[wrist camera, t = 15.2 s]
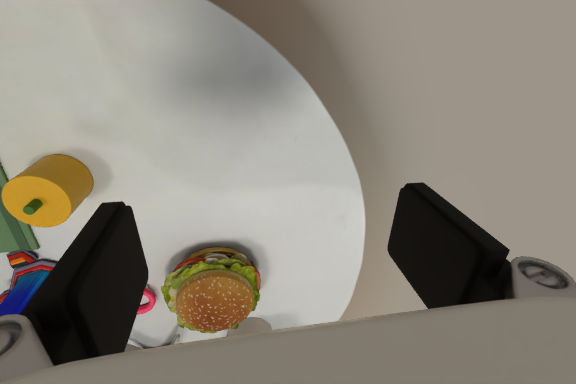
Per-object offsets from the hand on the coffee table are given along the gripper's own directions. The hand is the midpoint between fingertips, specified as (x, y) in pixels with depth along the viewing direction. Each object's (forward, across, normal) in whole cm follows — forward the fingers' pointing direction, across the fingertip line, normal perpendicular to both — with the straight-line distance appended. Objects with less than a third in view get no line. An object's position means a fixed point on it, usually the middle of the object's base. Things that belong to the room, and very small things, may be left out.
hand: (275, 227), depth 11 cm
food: (+28, +6, +28) cm, 40 cm away
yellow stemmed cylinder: (+28, +22, +10) cm, 37 cm away
